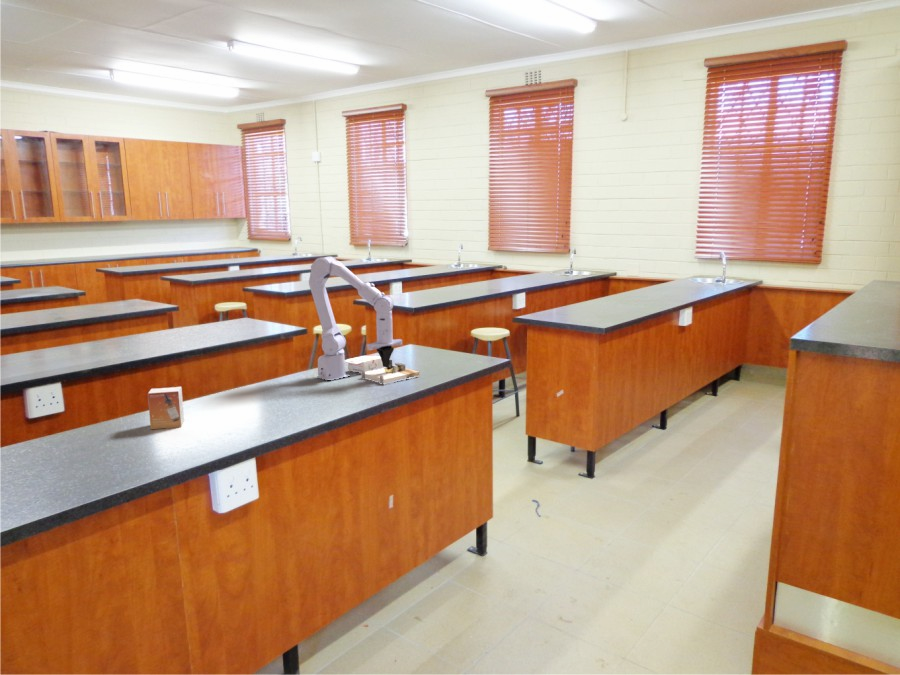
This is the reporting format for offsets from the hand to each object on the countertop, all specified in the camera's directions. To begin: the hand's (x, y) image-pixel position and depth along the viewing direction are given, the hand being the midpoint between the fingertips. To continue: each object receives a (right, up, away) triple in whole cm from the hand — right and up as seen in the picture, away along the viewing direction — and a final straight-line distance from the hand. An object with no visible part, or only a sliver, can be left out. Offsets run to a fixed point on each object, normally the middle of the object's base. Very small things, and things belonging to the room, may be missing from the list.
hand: (385, 366), depth 219 cm
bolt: (+3, -1, +3) cm, 5 cm away
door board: (-1, -4, 0) cm, 4 cm away
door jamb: (+5, -3, +6) cm, 9 cm away
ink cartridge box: (-5, +1, +18) cm, 19 cm away
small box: (-56, -14, -49) cm, 76 cm away
